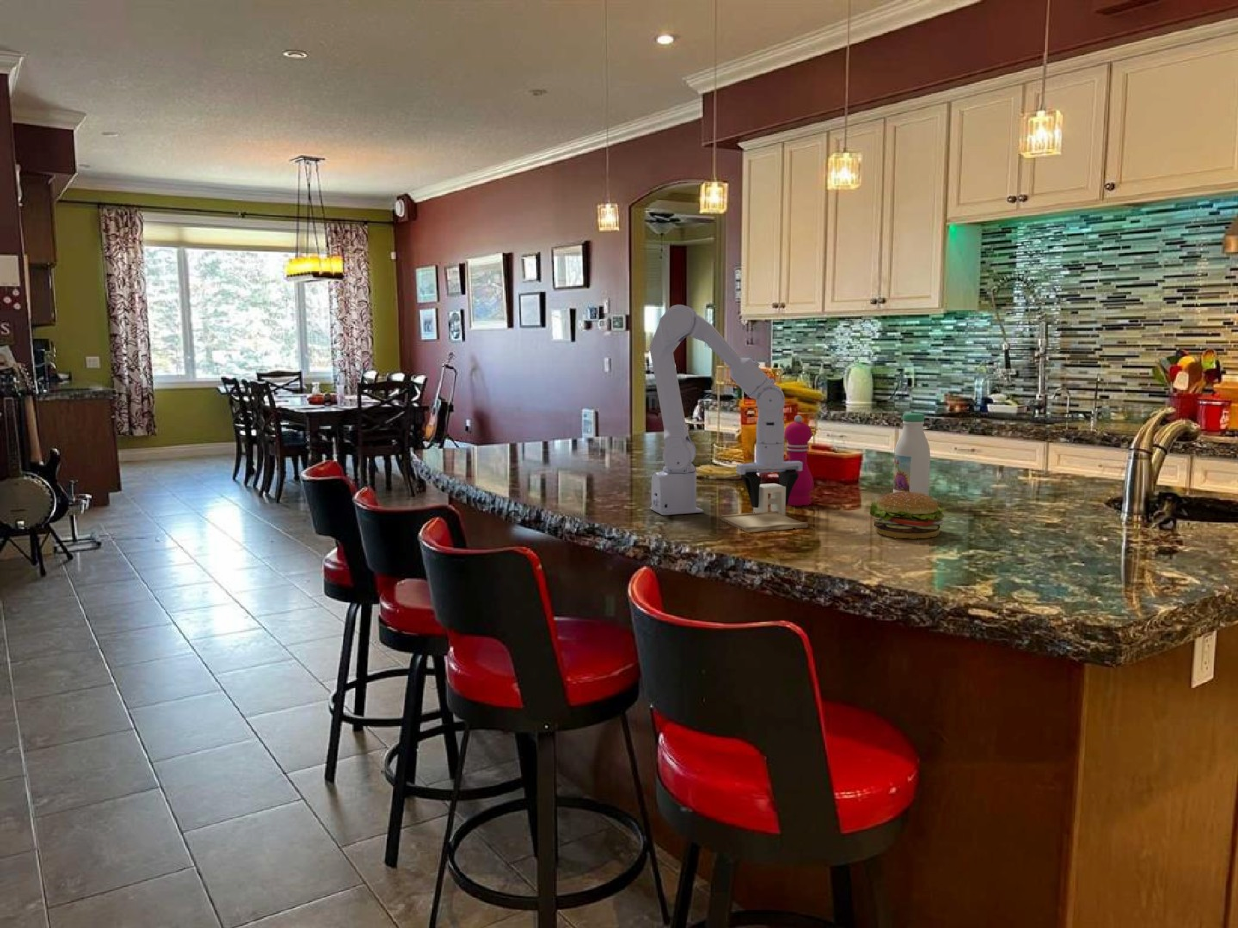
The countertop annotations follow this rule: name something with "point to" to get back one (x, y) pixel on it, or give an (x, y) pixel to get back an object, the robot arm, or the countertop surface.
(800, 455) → the pepper mill
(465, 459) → the countertop surface
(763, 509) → the white block
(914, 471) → the milk bottle
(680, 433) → the robot arm
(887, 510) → the food
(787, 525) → the plate
